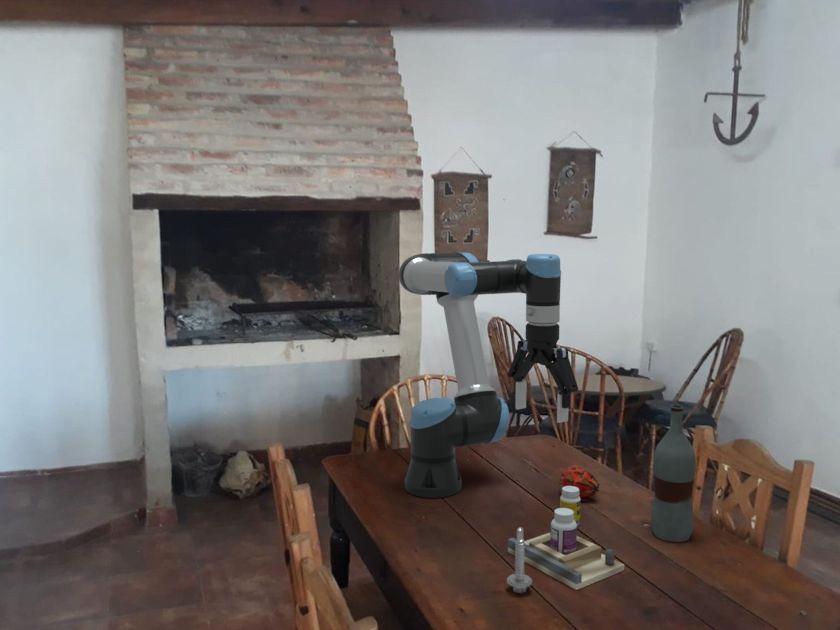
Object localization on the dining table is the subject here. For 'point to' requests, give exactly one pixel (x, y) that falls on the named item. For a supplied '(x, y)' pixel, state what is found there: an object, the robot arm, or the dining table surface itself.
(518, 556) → the screw
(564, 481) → the dragon fruit
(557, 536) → the pill bottle
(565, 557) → the jig
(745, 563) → the dining table surface
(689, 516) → the vodka
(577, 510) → the supplement bottle
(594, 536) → the dining table surface
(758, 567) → the dining table surface
